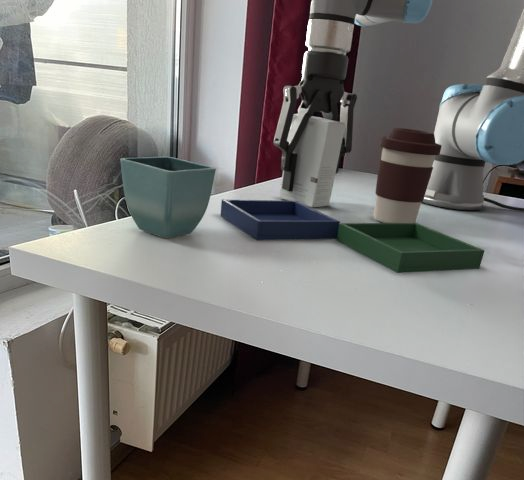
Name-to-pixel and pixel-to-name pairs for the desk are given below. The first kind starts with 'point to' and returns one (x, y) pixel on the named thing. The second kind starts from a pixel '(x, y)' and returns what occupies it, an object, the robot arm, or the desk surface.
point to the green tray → (409, 247)
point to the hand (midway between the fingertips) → (306, 190)
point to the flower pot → (166, 193)
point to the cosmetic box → (315, 162)
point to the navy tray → (279, 220)
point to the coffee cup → (404, 174)
